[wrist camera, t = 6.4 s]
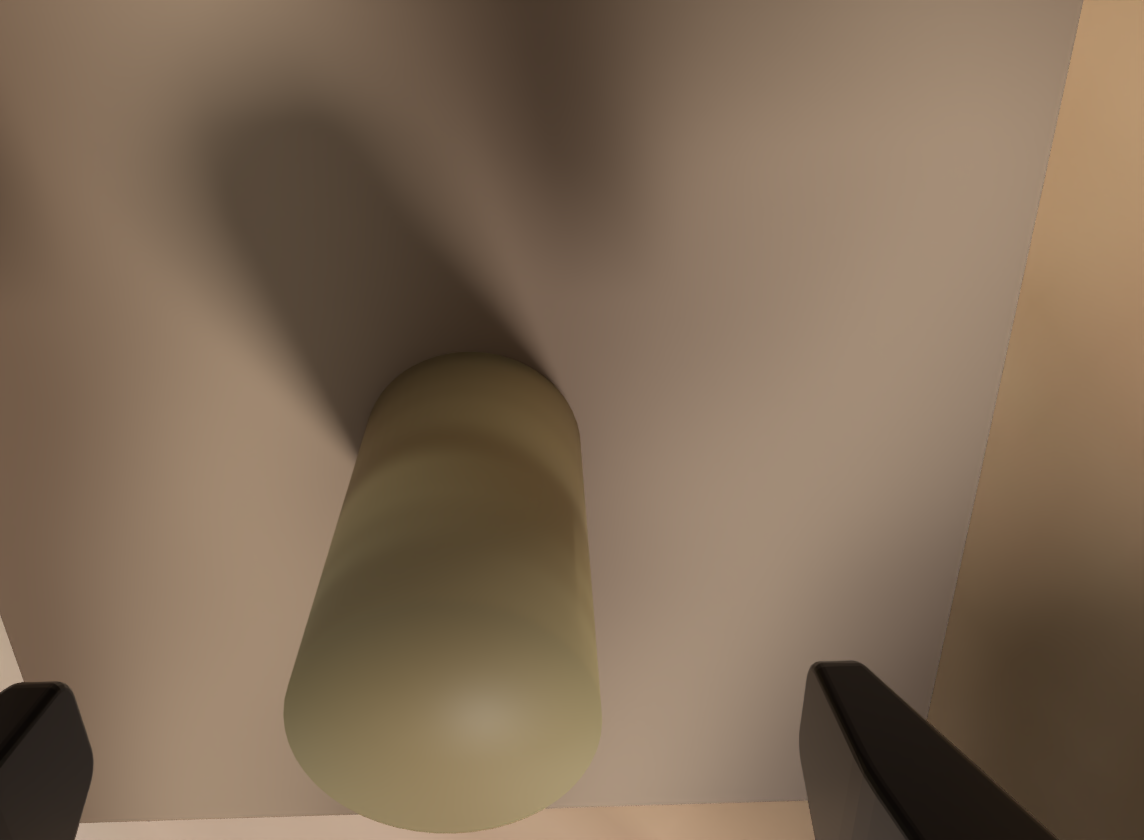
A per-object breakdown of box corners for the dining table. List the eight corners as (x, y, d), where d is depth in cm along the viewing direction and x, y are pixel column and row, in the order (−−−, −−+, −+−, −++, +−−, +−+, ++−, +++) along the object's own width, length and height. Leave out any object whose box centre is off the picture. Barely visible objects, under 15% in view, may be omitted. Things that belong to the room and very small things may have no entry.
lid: (104, 760, 16) (-90, 1159, 11) (-183, -141, 10) (-885, -149, 5) (886, 738, 16) (1039, 1117, 11) (1056, -151, 10) (1538, -168, 5)
